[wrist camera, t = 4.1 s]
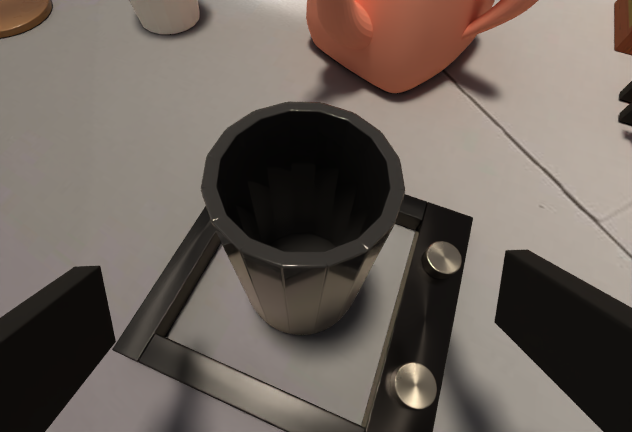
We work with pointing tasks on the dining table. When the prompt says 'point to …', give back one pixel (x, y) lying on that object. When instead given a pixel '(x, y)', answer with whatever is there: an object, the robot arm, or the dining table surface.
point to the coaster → (22, 15)
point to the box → (623, 26)
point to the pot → (402, 34)
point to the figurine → (628, 114)
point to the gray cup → (302, 208)
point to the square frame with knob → (398, 351)
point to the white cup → (167, 15)
